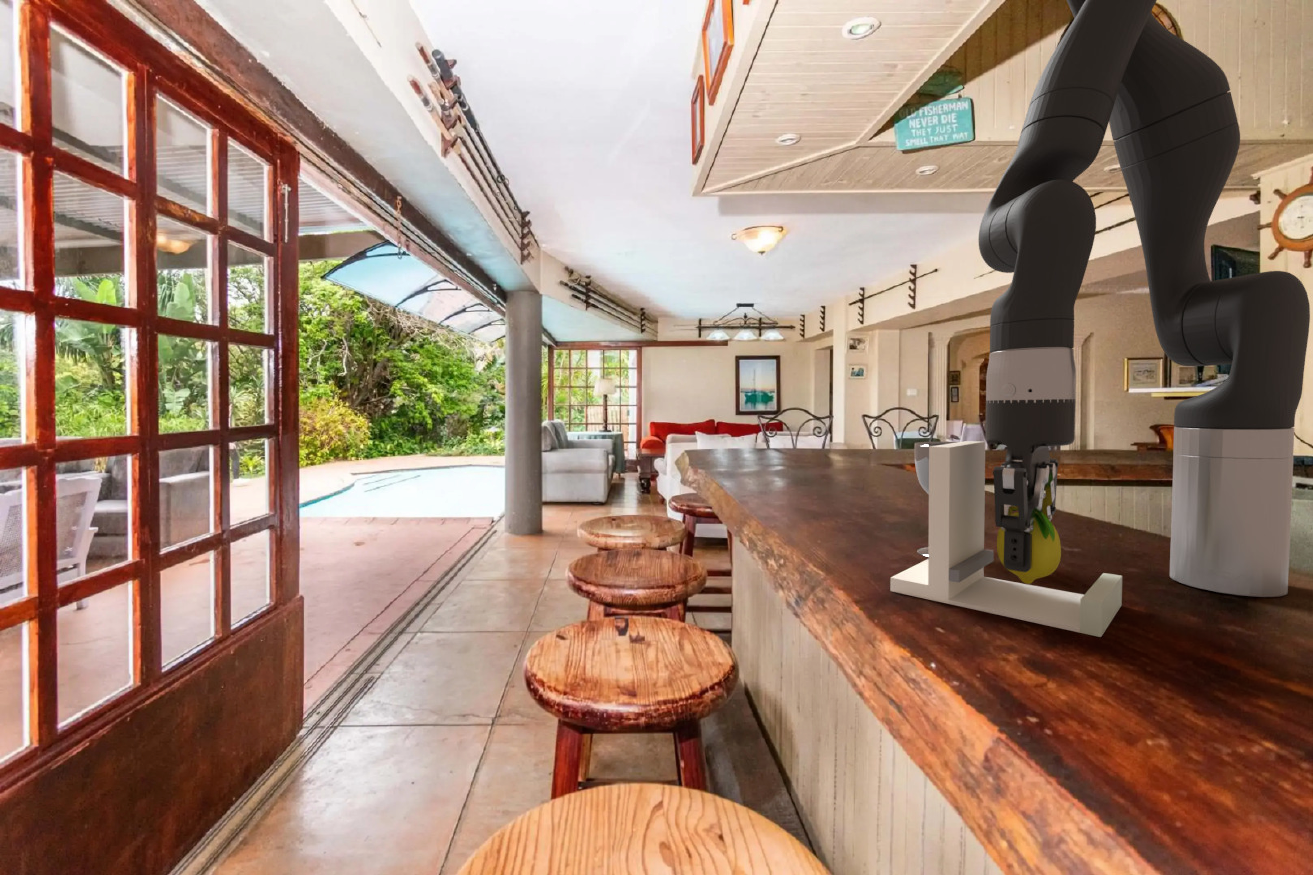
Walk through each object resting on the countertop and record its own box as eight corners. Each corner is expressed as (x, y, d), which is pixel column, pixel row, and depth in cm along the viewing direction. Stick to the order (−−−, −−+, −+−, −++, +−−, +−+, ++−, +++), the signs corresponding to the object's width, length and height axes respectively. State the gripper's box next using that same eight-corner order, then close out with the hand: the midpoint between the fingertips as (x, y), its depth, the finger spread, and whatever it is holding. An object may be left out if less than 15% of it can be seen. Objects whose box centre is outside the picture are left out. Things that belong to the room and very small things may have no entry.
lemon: (997, 570, 63) (999, 479, 63) (1063, 580, 60) (1065, 483, 59) (986, 585, 58) (987, 486, 58) (1057, 597, 54) (1059, 491, 54)
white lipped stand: (929, 570, 71) (930, 440, 70) (1121, 605, 58) (1125, 445, 57) (890, 590, 63) (890, 445, 63) (1100, 637, 50) (1105, 453, 49)
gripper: (1057, 395, 50) (1052, 587, 51) (1089, 396, 60) (1085, 557, 61) (963, 397, 55) (961, 571, 56) (1007, 397, 65) (1005, 545, 66)
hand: (1026, 563), depth 59 cm, fingers closed on lemon, 5 cm apart
